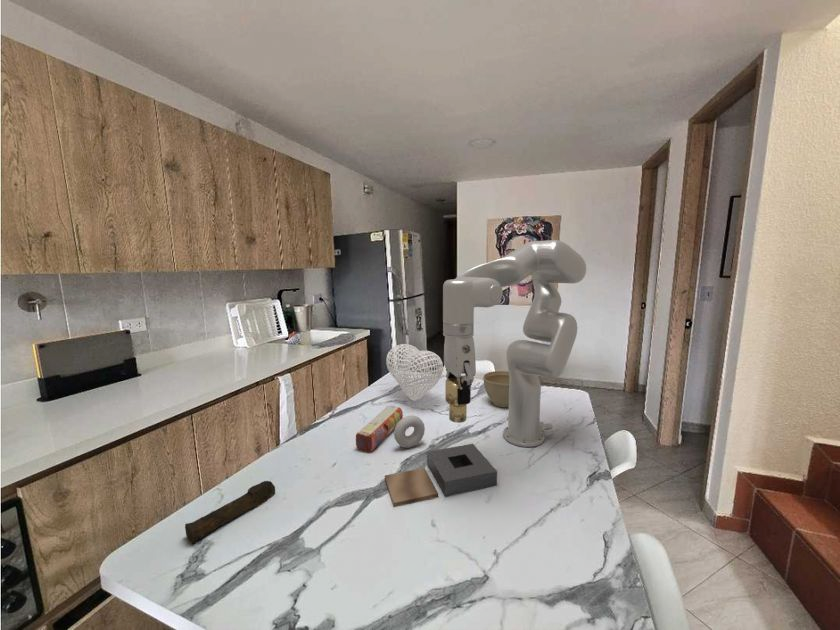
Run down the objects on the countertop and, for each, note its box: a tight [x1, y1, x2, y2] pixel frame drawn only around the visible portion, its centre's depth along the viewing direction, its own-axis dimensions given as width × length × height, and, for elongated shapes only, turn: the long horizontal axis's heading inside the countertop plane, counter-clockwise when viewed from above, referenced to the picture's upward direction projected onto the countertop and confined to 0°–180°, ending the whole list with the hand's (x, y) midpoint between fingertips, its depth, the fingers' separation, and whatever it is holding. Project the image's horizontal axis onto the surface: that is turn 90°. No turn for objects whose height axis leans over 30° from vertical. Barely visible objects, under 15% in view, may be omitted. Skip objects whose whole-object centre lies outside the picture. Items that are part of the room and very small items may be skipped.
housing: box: [426, 443, 498, 498], centre depth 92 cm, size 14×14×4 cm
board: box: [384, 467, 439, 508], centre depth 87 cm, size 11×11×1 cm
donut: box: [393, 415, 426, 448], centre depth 106 cm, size 10×4×10 cm, turn 116°
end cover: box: [444, 377, 472, 424], centre depth 88 cm, size 6×6×10 cm
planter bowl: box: [482, 370, 509, 408], centre depth 137 cm, size 16×16×11 cm
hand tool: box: [184, 480, 276, 545], centre depth 78 cm, size 19×4×5 cm, turn 140°
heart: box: [385, 343, 444, 402], centre depth 140 cm, size 28×16×22 cm, turn 36°
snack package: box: [355, 404, 404, 453], centre depth 113 cm, size 21×7×7 cm, turn 157°
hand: (457, 397), depth 88 cm, fingers closed on end cover, 6 cm apart
